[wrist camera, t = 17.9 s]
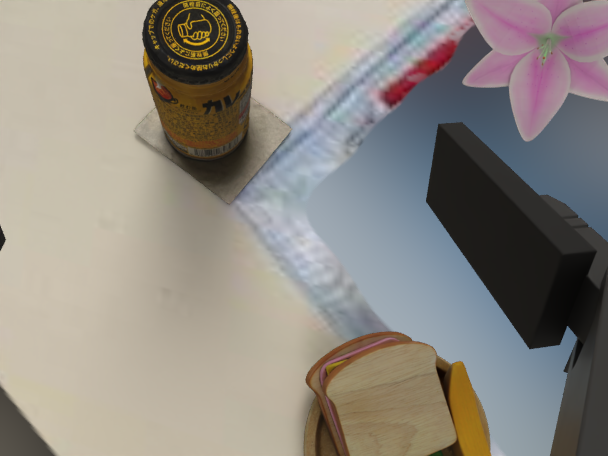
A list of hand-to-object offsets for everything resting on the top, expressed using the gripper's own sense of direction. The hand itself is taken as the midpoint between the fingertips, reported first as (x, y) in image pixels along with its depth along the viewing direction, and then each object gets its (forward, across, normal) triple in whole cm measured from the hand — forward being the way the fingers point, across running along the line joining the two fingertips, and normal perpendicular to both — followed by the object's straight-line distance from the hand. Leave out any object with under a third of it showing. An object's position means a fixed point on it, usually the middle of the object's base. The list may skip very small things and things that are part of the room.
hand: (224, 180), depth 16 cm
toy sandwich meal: (+6, +9, -24) cm, 26 cm away
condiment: (+22, 0, -8) cm, 23 cm away
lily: (+24, +24, -6) cm, 34 cm away
